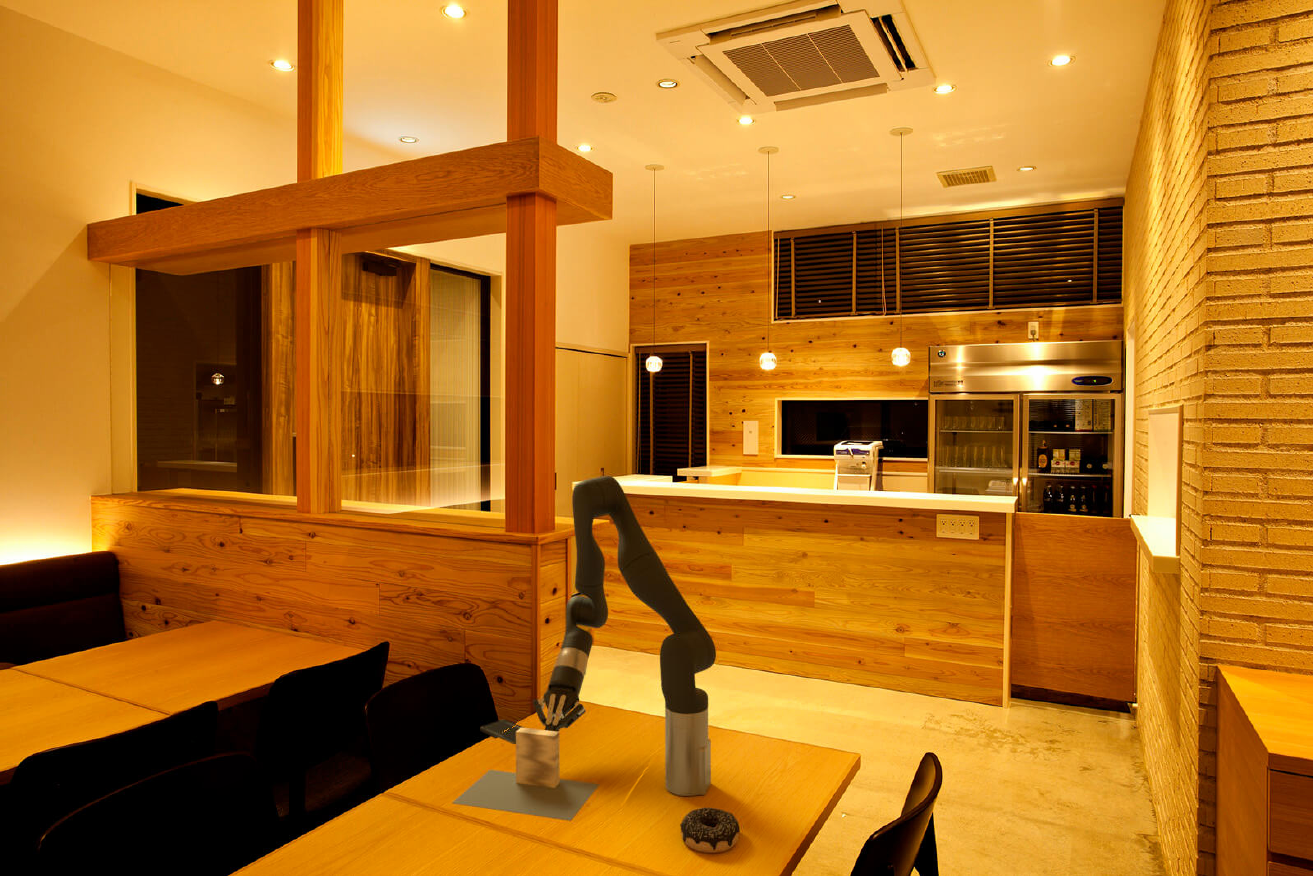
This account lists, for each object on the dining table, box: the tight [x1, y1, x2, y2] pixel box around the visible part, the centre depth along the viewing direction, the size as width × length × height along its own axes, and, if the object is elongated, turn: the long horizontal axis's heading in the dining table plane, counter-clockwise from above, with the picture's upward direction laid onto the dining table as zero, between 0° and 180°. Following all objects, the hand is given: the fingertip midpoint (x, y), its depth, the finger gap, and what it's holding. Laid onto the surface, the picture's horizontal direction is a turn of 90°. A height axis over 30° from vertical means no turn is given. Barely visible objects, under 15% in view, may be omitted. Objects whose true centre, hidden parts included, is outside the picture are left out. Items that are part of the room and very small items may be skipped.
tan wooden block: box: [515, 727, 560, 788], centre depth 167 cm, size 9×3×11 cm, turn 74°
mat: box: [451, 769, 600, 822], centre depth 162 cm, size 26×16×1 cm, turn 74°
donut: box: [679, 807, 741, 854], centre depth 145 cm, size 11×12×4 cm
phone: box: [480, 719, 525, 745], centre depth 196 cm, size 8×1×15 cm
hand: (547, 743), depth 172 cm, fingers closed
